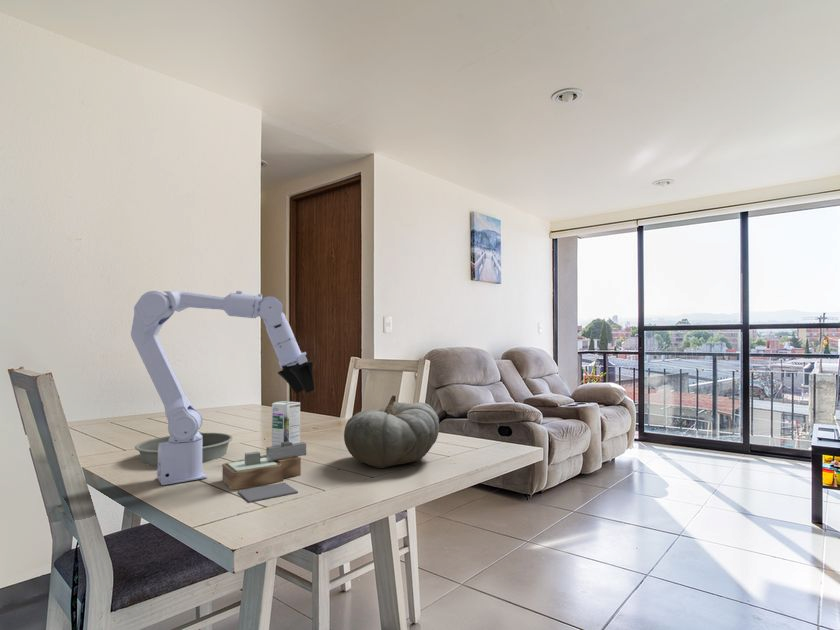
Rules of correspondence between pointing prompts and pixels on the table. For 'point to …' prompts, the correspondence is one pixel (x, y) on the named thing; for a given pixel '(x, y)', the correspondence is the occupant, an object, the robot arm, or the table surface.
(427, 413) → the gourd
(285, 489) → the mat
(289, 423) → the syrup box
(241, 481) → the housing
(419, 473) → the table surface
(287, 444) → the gray rectangular bar
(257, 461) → the cover
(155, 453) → the cake pan
